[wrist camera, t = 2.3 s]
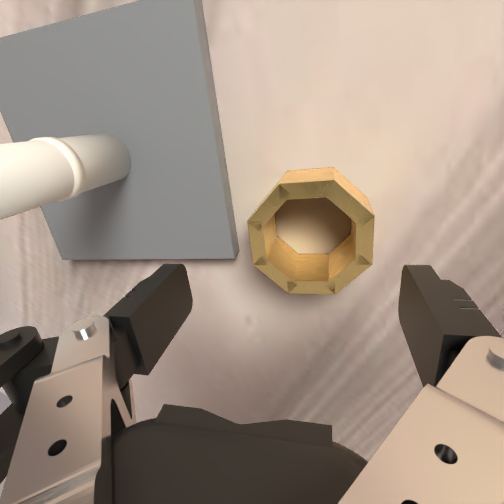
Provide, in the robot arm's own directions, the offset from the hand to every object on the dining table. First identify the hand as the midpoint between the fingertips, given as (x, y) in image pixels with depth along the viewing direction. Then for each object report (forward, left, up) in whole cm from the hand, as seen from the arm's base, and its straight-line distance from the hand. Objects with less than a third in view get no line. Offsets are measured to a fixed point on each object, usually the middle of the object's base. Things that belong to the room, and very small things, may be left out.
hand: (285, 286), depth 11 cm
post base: (+11, -5, -8) cm, 15 cm away
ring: (-1, 0, -8) cm, 8 cm away
